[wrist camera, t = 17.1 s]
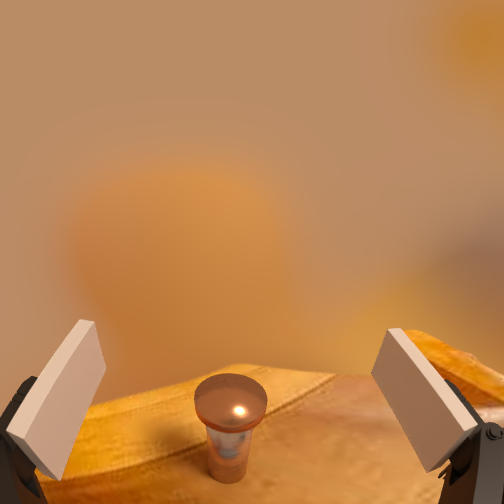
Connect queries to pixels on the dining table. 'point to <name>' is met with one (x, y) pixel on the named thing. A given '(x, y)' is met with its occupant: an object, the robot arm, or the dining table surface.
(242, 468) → the round flanged pin
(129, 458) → the dining table surface
